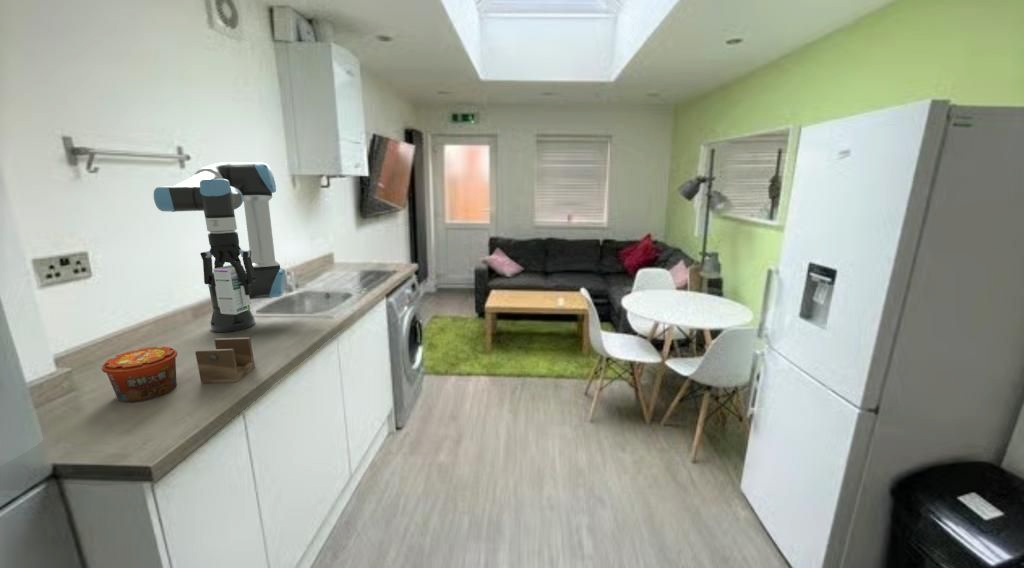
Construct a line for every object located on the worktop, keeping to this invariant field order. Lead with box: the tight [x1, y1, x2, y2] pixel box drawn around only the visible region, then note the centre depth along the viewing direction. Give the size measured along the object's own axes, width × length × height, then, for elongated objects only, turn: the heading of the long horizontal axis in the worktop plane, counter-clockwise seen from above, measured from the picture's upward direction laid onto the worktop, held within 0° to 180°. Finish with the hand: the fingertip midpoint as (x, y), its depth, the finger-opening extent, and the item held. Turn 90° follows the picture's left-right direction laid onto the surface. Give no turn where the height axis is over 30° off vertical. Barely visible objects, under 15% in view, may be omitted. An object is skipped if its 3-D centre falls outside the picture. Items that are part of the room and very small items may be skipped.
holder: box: [194, 336, 256, 384], centre depth 130 cm, size 12×10×10 cm
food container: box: [101, 346, 178, 403], centre depth 120 cm, size 16×16×11 cm
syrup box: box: [212, 264, 251, 315], centre depth 133 cm, size 6×6×14 cm
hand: (234, 305), depth 134 cm, fingers closed on syrup box, 7 cm apart
